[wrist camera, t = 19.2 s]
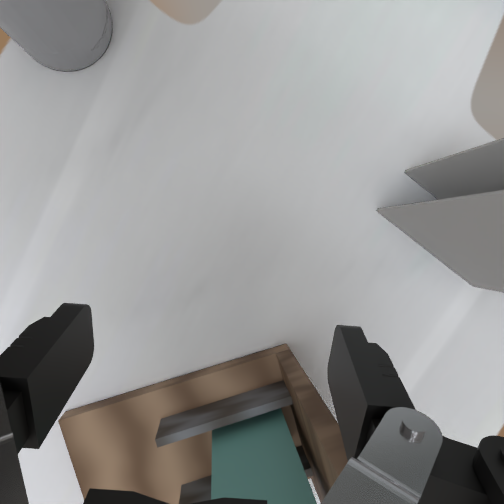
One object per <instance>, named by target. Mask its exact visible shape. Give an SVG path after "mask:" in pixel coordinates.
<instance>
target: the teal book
mask: <svg viewBox="0 0 504 504" xmlns="http://www.w3.org/2000/svg"><path fill="white" fill-rule="evenodd" d="M223 497H226V498H241V499H256V500H267V504H317V503H316V500H315V497H314V495H313V492H312V489H311V487H310V484H309V481H308V479H307V476H306V473H305V471H304V468H303V466H302V463H301V460H300V458H299V455H298V452H297V450H296V447H295V444H294V442H293V439H292V436H291V434H290V431H289V428H288V426H287V423H286V421H285V418H284V415H283V413H282V410H281V408H279V409H276V410H273V411H270V412H267V413H264V414H261V415H257V416H254V417H251V418H248V419H245V420H242V421H239V422H236V423H233V424H229V425H226V426H223V427H220V428H217V429H214V430H212V475H211V500H212V499H218V498H223Z"/></svg>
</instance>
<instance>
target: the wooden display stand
mask: <svg viewBox="0 0 504 504" xmlns="http://www.w3.org/2000/svg"><path fill="white" fill-rule="evenodd" d="M279 408H281V410H282V413H283V415H284V418H285V421H286V423H287V426H288V428H289V431H290V434H291V436H292V439H293V442H294V444H295V447H296V450H297V452H298V455H299V458H300V460H301V463H302V466H303V468H304V471H305V473H306V476H307V479H310V478H311V479H312V482H313V484H314V487H315V489H316V492H317V494H318V497H319V499H320V502H322V501H323V499H324V498H325V496H326V495H327V493H328V492H329V490H330V489H331V487H332V486H333V484H334V482H335V481H336V479H337V478H338V476H339V475H340V473H341V472H342V470H343V469H344V467H345V466H346V464H347V463H348V460H347V456H346V452H345V448H344V444H343V440H342V436H341V432H340V428H339V424H338V423H337V421H336V420H335V418H334V417H333V415H332V414H331V412H330V411H329V409H328V407H327V406H326V404H325V403H324V401H323V400H322V398H321V397H320V395H319V393H318V392H317V390H316V389H315V387H314V386H313V384H312V383H311V381H310V380H309V378H308V376H307V375H306V373H305V372H304V370H303V369H302V367H301V366H300V364H299V363H298V361H297V359H296V358H295V356H294V355H293V353H292V352H291V350H290V349H289V347H288V346H287V344H283V345H280V346H277V347H273V348H270V349H267V350H264V351H260V352H257V353H254V354H251V355H248V356H244V357H241V358H238V359H235V360H231V361H228V362H225V363H222V364H218V365H215V366H212V367H209V368H205V369H202V370H199V371H196V372H192V373H189V374H186V375H183V376H179V377H176V378H173V379H170V380H166V381H163V382H160V383H157V384H153V385H150V386H147V387H144V388H141V389H137V390H134V391H131V392H128V393H124V394H121V395H118V396H115V397H111V398H108V399H105V400H102V401H98V402H95V403H92V404H89V405H85V406H82V407H79V408H76V409H72V410H69V411H66V412H65V413H64V414H63V416H62V417H61V418H60V419H59V420H58V422H59V425H60V428H61V431H62V434H63V437H64V440H65V443H66V446H67V449H68V452H69V455H70V458H71V461H72V464H73V467H74V470H75V473H76V476H77V479H78V482H79V485H80V488H81V491H82V494H83V497H84V500H85V498H86V496H87V493H88V491H89V488H93V489H107V490H122V491H134V492H137V493H140V494H143V495H146V496H149V497H152V498H155V499H157V500H160V501H163V502H166V503H169V504H191V503H196V502H202V501H207V500H211V475H212V430H214V429H217V428H220V427H223V426H226V425H229V424H233V423H236V422H239V421H242V420H245V419H248V418H251V417H254V416H257V415H261V414H264V413H267V412H270V411H273V410H276V409H279Z"/></svg>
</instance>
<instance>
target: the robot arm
mask: <svg viewBox="0 0 504 504" xmlns="http://www.w3.org/2000/svg"><path fill="white" fill-rule="evenodd" d="M0 28H1V29H2V30H3V31H4V32H5V33H6V34H7V35H8V36H10V37H11V38H12V39H13V40H14V41H15V42H17V43H18V44H19V45H20V46H21V47H22V48H23V49H24V50H25V51H26V52H27V53H28V54H29V55H30V56H31V57H32V58H33V59H35V60H36V61H37V62H39V63H41V64H42V65H44V66H46V67H49V68H51V69H54V70H60V71H75V70H79V69H83V68H85V67H87V66H89V65H91V64H93V63H94V62H95V61H97V60H98V59H99V58H100V57H101V56H102V54H103V53H104V52H105V50H106V49H107V46H108V44H109V42H110V39H111V34H112V19H111V15H110V11H109V9H108V6H107V4H106V2H105V0H0ZM93 352H94V339H93V327H92V314H91V308H90V306H89V305H86V304H73V303H63V304H62V305H61V306H60V307H59V308H58V309H57V310H56V311H55V313H54V314H53V315H52V316H51V317H43V318H42V319H40V320H38V321H36V322H34V323H33V324H31V325H29V326H28V327H27V328H26V329H25V330H24V331H23V332H22V333H21V334H20V335H19V338H17V339H16V340H15V341H14V342H13V343H12V344H11V346H10V347H8V348H7V349H6V350H5V351H4V352H3V353H2V354H1V355H0V504H29V503H28V498H27V494H26V489H25V485H24V481H23V476H22V472H21V468H20V463H19V459H18V453H19V452H20V450H21V449H22V448H34V449H39V448H40V446H41V444H42V443H43V441H44V439H45V438H46V436H47V434H48V433H49V431H50V429H51V428H52V426H53V424H54V423H55V421H56V420H57V418H58V416H59V415H60V413H61V411H62V410H63V408H64V406H65V405H66V403H67V401H68V400H69V398H70V396H71V395H72V393H73V391H74V390H75V388H76V386H77V385H78V383H79V381H80V380H81V378H82V376H83V375H84V373H85V371H86V370H87V368H88V367H89V365H90V363H91V360H92V357H93ZM328 383H329V388H330V392H331V396H332V400H333V404H334V408H335V412H336V416H337V420H338V424H339V428H340V432H341V436H342V440H343V444H344V448H345V452H346V456H347V460H348V463H347V464H346V466H345V467H344V469H343V470H342V472H341V473H340V475H339V476H338V478H337V479H336V481H335V482H334V484H333V486H332V487H331V489H330V490H329V492H328V493H327V495H326V496H325V498H324V499H323V501H322V502H321V504H504V437H500V436H488V437H485V438H483V439H482V440H481V441H480V444H479V446H478V448H476V447H473V446H470V445H467V444H464V443H460V442H457V441H454V440H451V439H449V438H446V437H444V436H442V433H441V431H440V429H439V427H438V426H437V425H436V423H435V422H434V421H433V420H431V419H430V418H429V417H428V416H426V415H425V414H423V413H421V412H419V411H417V410H415V408H414V406H413V404H412V402H411V400H410V398H409V396H408V394H407V392H406V390H405V388H404V386H403V384H402V382H401V380H400V378H399V377H398V374H397V372H396V370H395V368H393V364H392V362H391V360H390V358H389V356H388V354H387V353H386V352H385V351H384V350H383V349H382V348H381V347H380V346H379V345H378V344H376V343H368V342H367V339H366V337H365V335H364V333H363V330H362V328H361V327H357V326H344V325H337V326H336V328H335V332H334V337H333V342H332V347H331V352H330V357H329V362H328ZM83 504H169V503H166V502H163V501H160V500H157V499H155V498H152V497H149V496H146V495H143V494H140V493H137V492H134V491H122V490H107V489H93V488H89V491H88V493H87V496H86V498H85V500H84V503H83ZM191 504H267V500H256V499H241V498H226V497H223V498H218V499H212V500H207V501H202V502H196V503H191Z"/></svg>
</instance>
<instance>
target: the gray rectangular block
mask: <svg viewBox="0 0 504 504" xmlns="http://www.w3.org/2000/svg"><path fill="white" fill-rule="evenodd" d="M405 173H406V174H407V175H408V176H409V177H411V178H412V179H413V180H414V181H416V182H417V183H418V184H419V185H421V186H422V187H423V188H424V189H426V190H427V191H428V192H429V193H431V194H432V195H433V196H434V197H436V198H437V199H438V200H432V201H426V202H419V203H412V204H405V205H399V206H392V207H385V208H378V209H377V210H376V211H377V212H378V213H380V214H381V215H382V216H384V217H385V218H386V219H387V220H389V221H390V222H391V223H393V224H394V225H395V226H396V227H398V228H399V229H400V230H401V231H403V232H404V233H405V234H407V235H408V236H409V237H410V238H412V239H413V240H414V241H415V242H417V243H418V244H419V245H421V246H422V247H423V248H424V249H426V250H427V251H428V252H430V253H431V254H432V255H433V256H435V257H436V258H437V259H438V260H440V261H441V262H442V263H444V264H445V265H446V266H447V267H449V268H450V269H451V270H453V271H454V272H455V273H456V274H458V275H459V276H460V277H461V278H463V279H464V280H465V281H467V282H468V283H469V284H470V285H472V286H475V287H479V288H484V289H489V290H494V291H499V292H504V138H502V139H499V140H496V141H493V142H490V143H487V144H484V145H481V146H478V147H475V148H472V149H469V150H466V151H463V152H460V153H457V154H454V155H451V156H447V157H444V158H441V159H438V160H435V161H432V162H429V163H426V164H423V165H420V166H417V167H414V168H411V169H408V170H405Z"/></svg>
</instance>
